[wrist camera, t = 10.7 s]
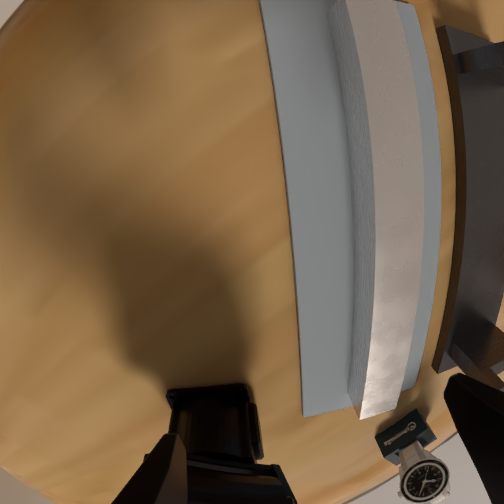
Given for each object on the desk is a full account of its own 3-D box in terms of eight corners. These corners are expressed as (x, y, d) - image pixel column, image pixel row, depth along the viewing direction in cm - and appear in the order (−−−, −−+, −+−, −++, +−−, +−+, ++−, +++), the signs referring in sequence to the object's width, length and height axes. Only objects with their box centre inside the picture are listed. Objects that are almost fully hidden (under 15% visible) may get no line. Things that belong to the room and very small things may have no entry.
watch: (411, 402, 25) (457, 479, 15) (429, 425, 27) (466, 488, 17) (366, 432, 26) (401, 513, 16) (391, 450, 28) (422, 516, 18)
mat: (302, 413, 24) (303, 417, 23) (257, -7, 13) (258, -11, 13) (412, 383, 24) (414, 387, 23) (410, 7, 13) (413, 5, 13)
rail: (347, 393, 23) (359, 419, 20) (325, 14, 13) (343, -8, 10) (381, 384, 23) (395, 408, 20) (372, 18, 14) (395, 1, 11)
